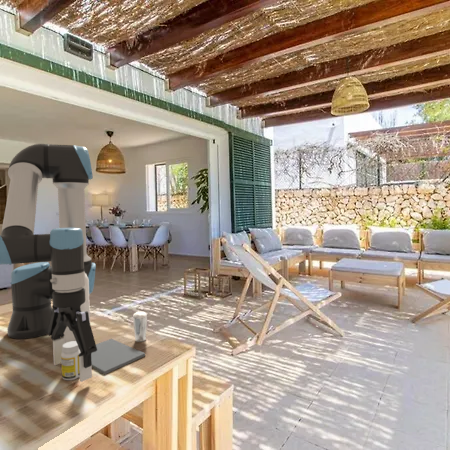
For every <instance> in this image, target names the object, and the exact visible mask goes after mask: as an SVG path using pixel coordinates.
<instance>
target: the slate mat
mask: <svg viewBox="0 0 450 450" xmlns="http://www.w3.org/2000/svg"><path fill="white" fill-rule="evenodd" d="M95 344H96V347H97V351H96V352H93V353H91V362H92V369H95V370H96V371H98V372H99V373H101V374H103V375H106V374H108V373H111V372H113V371H115V370H117V369H119V368H122V367H124V366H126V365H128V364H130V363H133V362H135V361H137V360H140V359H141V358H144V357H146V353H145V352H143V351H141V350H139V349H136V348H133V347H131V346H129V345H127V344H125V343H122V342H120V341H118V340H115V339H113V338H110V339H107V340H104V341H102V342H99V343H95Z"/></svg>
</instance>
